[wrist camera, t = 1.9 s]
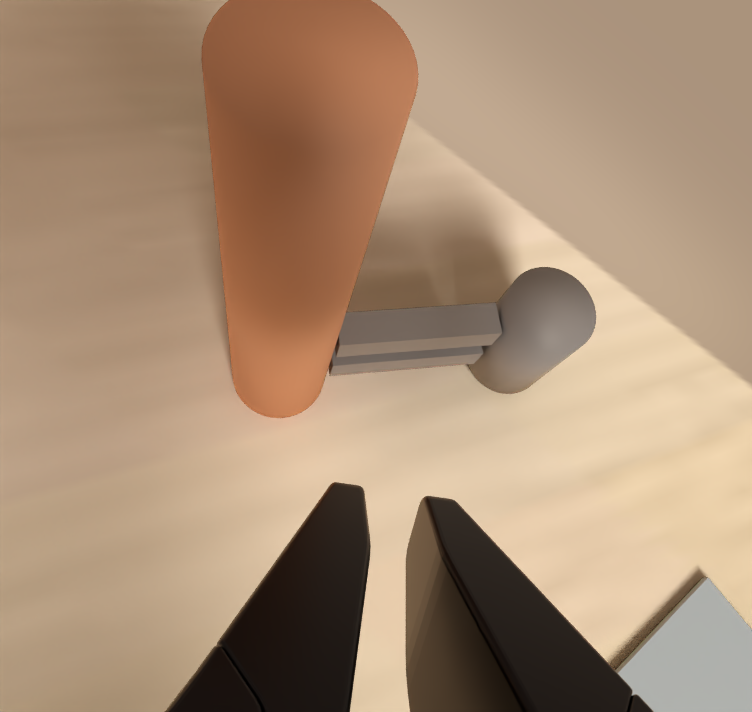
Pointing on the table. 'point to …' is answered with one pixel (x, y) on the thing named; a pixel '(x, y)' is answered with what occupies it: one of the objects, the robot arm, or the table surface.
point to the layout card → (694, 657)
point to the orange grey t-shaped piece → (340, 212)
